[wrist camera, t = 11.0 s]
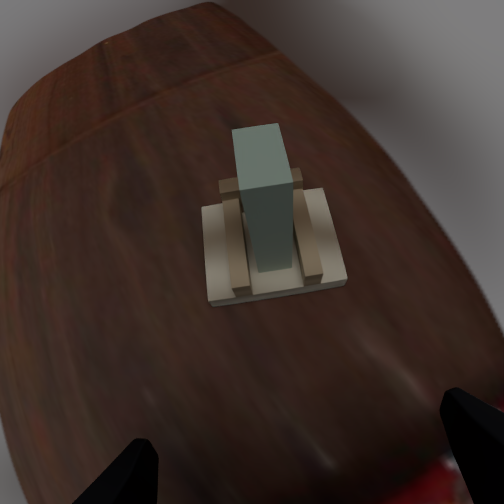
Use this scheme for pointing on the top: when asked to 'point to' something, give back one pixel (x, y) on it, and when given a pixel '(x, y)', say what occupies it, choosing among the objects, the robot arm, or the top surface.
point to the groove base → (242, 255)
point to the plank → (266, 194)
